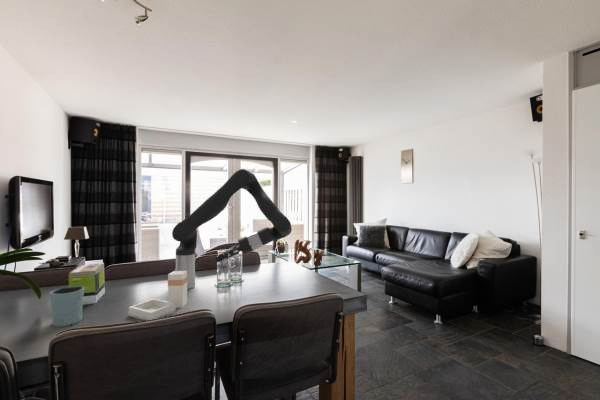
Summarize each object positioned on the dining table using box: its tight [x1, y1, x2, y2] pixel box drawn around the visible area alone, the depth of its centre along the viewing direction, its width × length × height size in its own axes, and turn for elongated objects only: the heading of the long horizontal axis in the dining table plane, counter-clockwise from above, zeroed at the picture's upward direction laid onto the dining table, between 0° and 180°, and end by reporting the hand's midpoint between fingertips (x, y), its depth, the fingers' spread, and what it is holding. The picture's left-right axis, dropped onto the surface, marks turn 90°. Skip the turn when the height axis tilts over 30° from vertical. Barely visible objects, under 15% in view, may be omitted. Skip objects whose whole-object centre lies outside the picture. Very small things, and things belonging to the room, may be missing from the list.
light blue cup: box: [49, 286, 84, 327], centre depth 110 cm, size 10×10×12 cm
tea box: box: [68, 262, 106, 306], centre depth 134 cm, size 15×10×15 cm
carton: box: [167, 270, 188, 309], centre depth 127 cm, size 6×6×14 cm
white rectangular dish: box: [128, 298, 176, 321], centre depth 117 cm, size 13×11×4 cm
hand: (217, 258), depth 131 cm, fingers open, 8 cm apart
